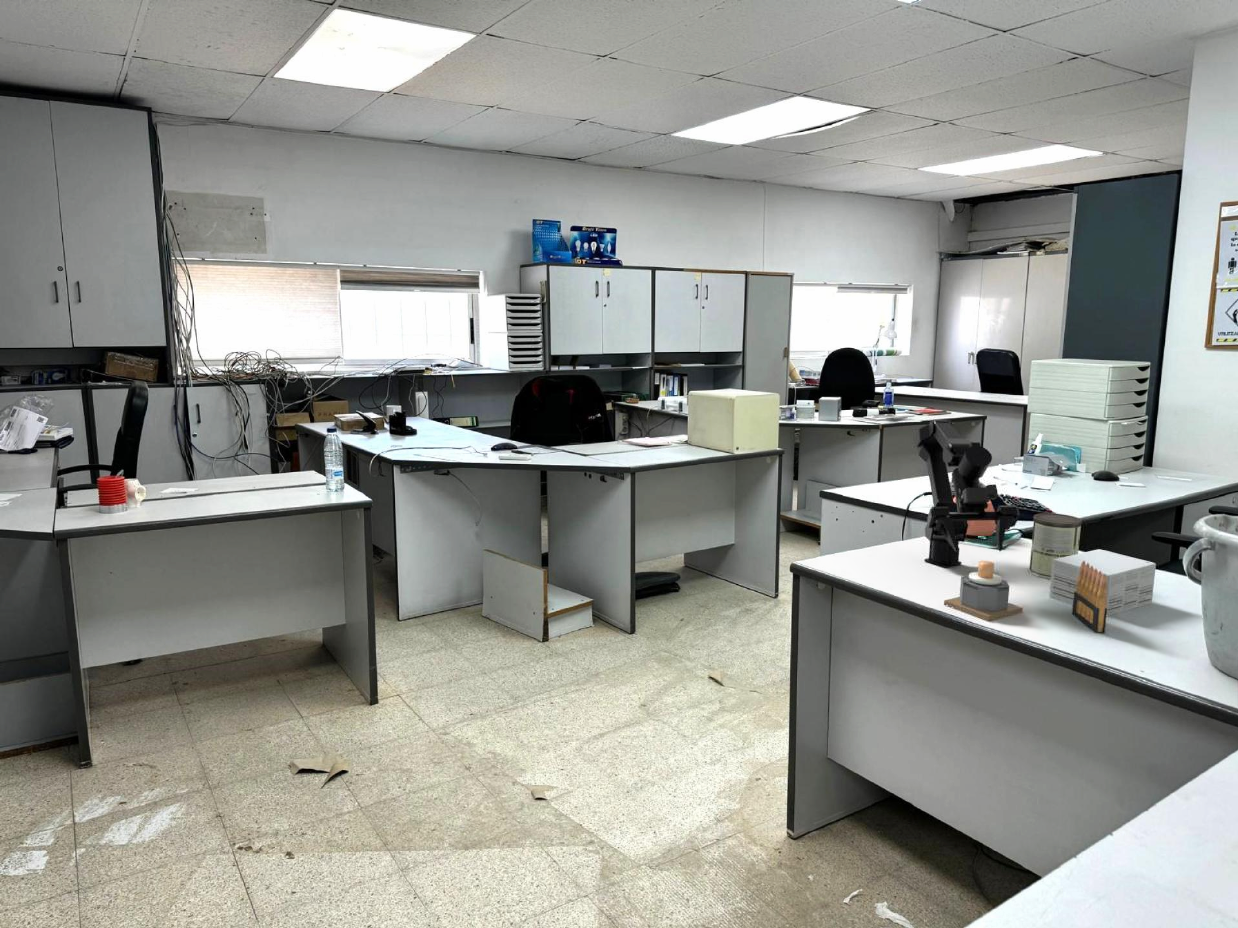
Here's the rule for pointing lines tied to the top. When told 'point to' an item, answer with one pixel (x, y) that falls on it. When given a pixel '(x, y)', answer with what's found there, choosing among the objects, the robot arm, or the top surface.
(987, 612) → the pump canister
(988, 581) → the pump plunger
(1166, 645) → the top surface
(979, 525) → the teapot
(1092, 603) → the ammunition clip
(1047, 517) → the coffee can
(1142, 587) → the supplement box
